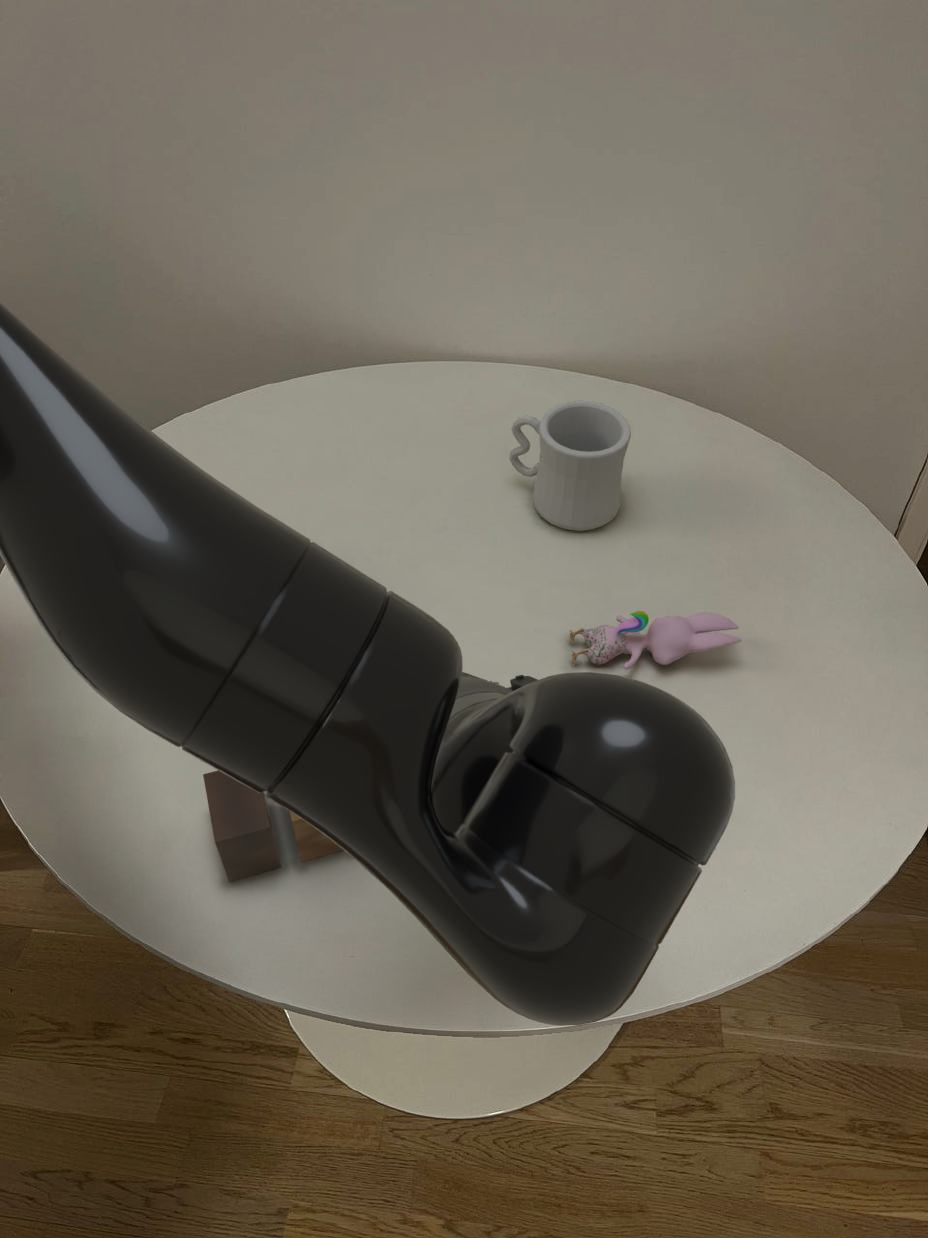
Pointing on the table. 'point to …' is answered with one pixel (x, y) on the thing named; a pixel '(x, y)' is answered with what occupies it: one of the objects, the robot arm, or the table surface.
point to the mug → (576, 463)
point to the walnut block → (240, 827)
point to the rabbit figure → (656, 637)
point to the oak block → (311, 840)
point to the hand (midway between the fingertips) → (403, 714)
